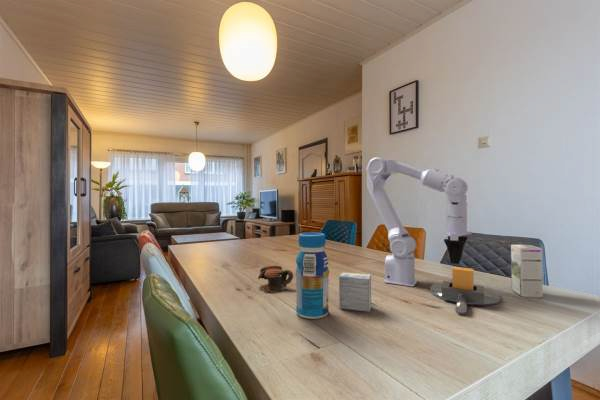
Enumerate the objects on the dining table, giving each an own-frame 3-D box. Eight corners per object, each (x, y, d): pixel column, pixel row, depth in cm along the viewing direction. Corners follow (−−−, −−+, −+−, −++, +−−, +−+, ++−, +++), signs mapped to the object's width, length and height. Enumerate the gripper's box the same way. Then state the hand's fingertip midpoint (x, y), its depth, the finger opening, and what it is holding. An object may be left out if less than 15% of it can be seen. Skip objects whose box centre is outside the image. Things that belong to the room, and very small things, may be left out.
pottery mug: (254, 294, 89) (252, 268, 93) (266, 298, 97) (264, 274, 101) (290, 286, 86) (287, 260, 90) (300, 291, 94) (297, 267, 98)
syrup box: (543, 298, 82) (543, 247, 82) (520, 296, 83) (520, 247, 83) (532, 291, 88) (532, 244, 88) (510, 290, 89) (510, 244, 89)
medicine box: (371, 306, 77) (371, 274, 77) (369, 312, 73) (369, 278, 72) (342, 303, 79) (342, 271, 79) (339, 309, 75) (338, 276, 75)
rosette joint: (421, 308, 75) (421, 285, 75) (434, 282, 98) (434, 265, 98) (505, 323, 66) (505, 297, 66) (498, 291, 89) (498, 271, 88)
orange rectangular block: (452, 297, 80) (452, 268, 80) (453, 294, 83) (453, 266, 83) (473, 300, 78) (473, 271, 78) (473, 297, 80) (473, 268, 80)
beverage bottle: (289, 312, 73) (288, 233, 73) (314, 304, 78) (314, 231, 78) (310, 323, 66) (309, 237, 66) (336, 314, 72) (335, 234, 72)
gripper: (470, 219, 80) (470, 267, 80) (472, 216, 93) (472, 258, 93) (442, 218, 84) (442, 264, 84) (447, 215, 96) (447, 255, 96)
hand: (456, 261), depth 89 cm, fingers open, 7 cm apart
